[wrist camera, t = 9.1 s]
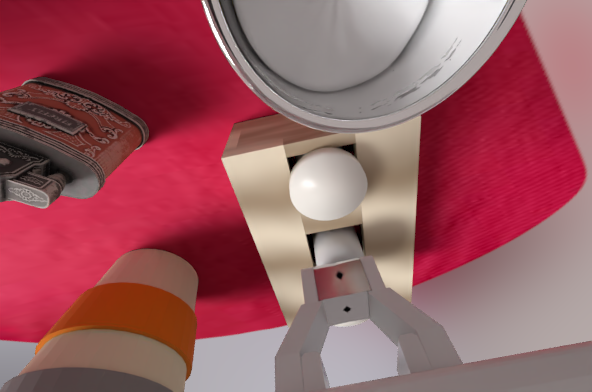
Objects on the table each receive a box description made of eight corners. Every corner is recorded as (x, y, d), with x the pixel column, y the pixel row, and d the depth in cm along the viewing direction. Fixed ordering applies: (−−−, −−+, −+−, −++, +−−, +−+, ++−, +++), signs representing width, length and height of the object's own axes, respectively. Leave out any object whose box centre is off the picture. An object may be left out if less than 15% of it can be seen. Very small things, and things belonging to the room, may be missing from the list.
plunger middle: (299, 212, 23) (306, 279, 17) (357, 200, 22) (384, 265, 17) (309, 252, 25) (318, 322, 20) (362, 243, 25) (386, 311, 19)
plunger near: (280, 123, 22) (281, 164, 16) (342, 109, 21) (365, 147, 16) (293, 175, 24) (297, 226, 19) (347, 164, 24) (369, 212, 18)
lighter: (153, 118, 21) (75, 189, 13) (144, 154, 23) (68, 238, 15) (30, 64, 19) (-163, 110, 11) (29, 109, 20) (-140, 179, 12)
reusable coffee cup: (190, 226, 27) (119, 407, 15) (228, 302, 34) (200, 468, 22) (69, 245, 28) (-96, 436, 16) (131, 316, 35) (50, 486, 23)
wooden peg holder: (234, 123, 22) (221, 158, 17) (387, 89, 21) (421, 115, 16) (286, 278, 32) (288, 327, 28) (390, 260, 32) (410, 307, 27)
